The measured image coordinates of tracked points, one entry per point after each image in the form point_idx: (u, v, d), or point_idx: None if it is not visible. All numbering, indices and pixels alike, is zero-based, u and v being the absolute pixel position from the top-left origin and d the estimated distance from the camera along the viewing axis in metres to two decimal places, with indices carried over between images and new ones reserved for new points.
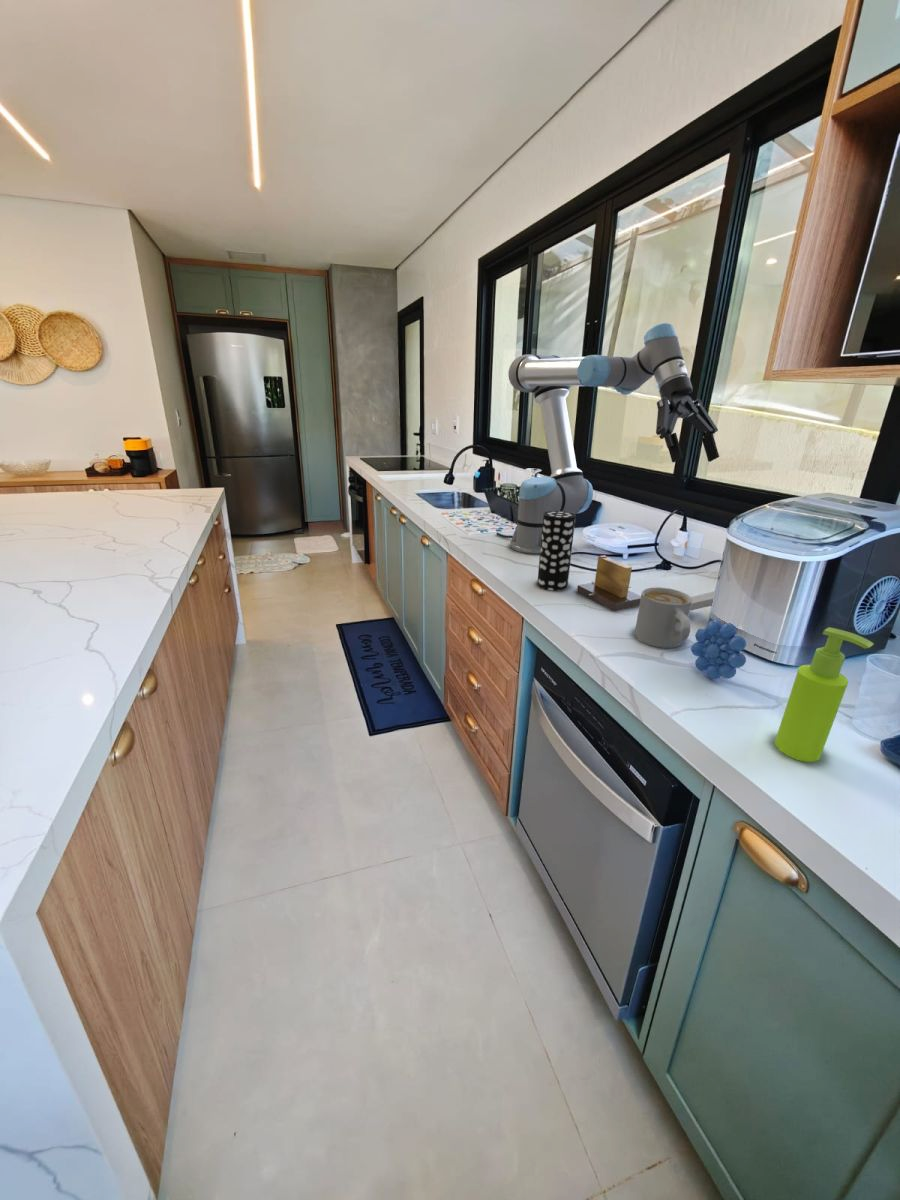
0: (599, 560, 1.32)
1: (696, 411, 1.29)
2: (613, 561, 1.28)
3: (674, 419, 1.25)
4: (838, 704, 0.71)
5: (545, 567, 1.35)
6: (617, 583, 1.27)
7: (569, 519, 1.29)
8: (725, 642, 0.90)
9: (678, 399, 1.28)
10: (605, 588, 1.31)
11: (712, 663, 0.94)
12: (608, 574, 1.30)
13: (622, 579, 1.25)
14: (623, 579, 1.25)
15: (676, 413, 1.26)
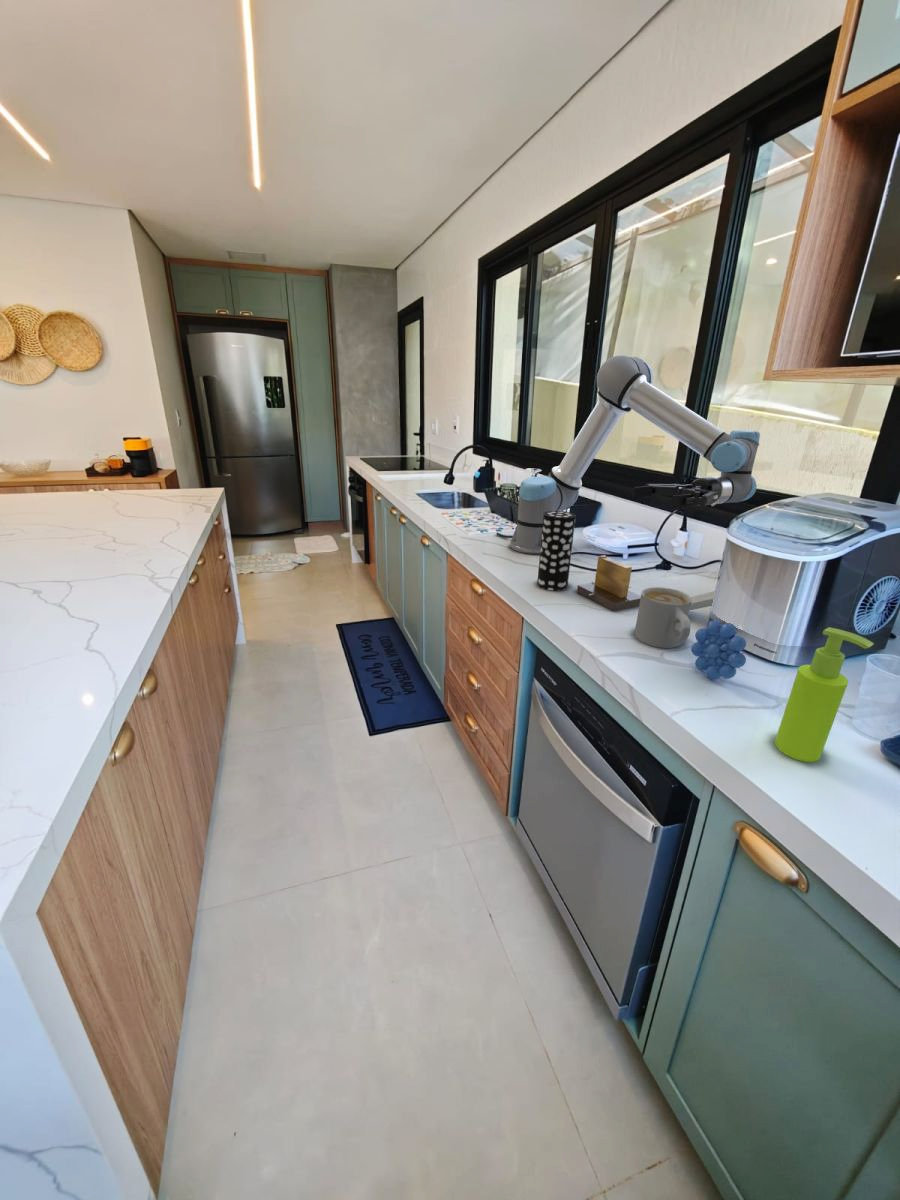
0: (599, 560, 1.32)
1: None
2: (613, 561, 1.28)
3: None
4: (838, 704, 0.71)
5: (545, 567, 1.35)
6: (617, 583, 1.27)
7: (569, 519, 1.29)
8: (725, 642, 0.90)
9: None
10: (605, 588, 1.31)
11: (712, 663, 0.94)
12: (608, 574, 1.30)
13: (622, 579, 1.25)
14: (623, 579, 1.25)
15: None
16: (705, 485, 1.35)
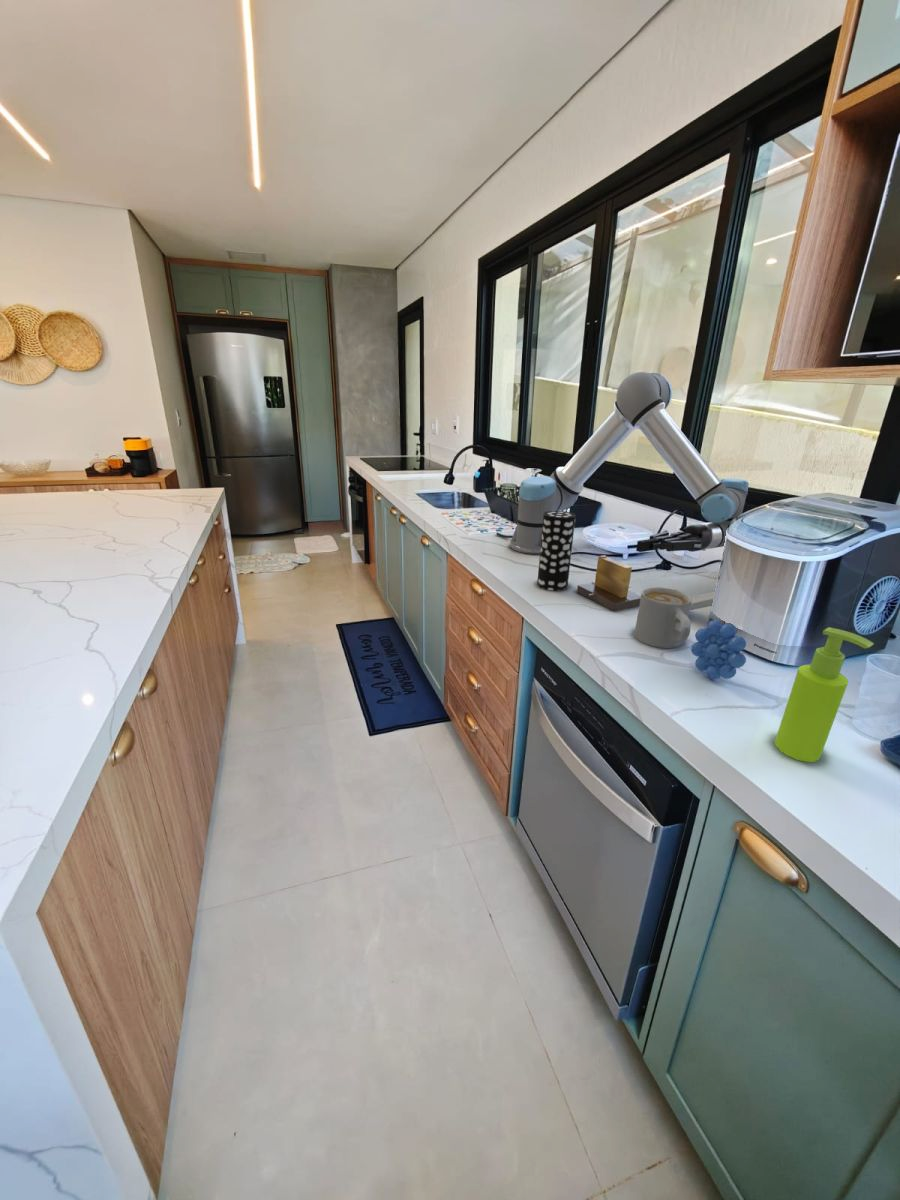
0: (599, 560, 1.32)
1: None
2: (613, 561, 1.28)
3: None
4: (838, 704, 0.71)
5: (545, 567, 1.35)
6: (617, 583, 1.27)
7: (569, 519, 1.29)
8: (725, 642, 0.90)
9: None
10: (605, 588, 1.31)
11: (712, 663, 0.94)
12: (608, 574, 1.30)
13: (622, 579, 1.25)
14: (623, 579, 1.25)
15: None
16: (696, 533, 1.40)
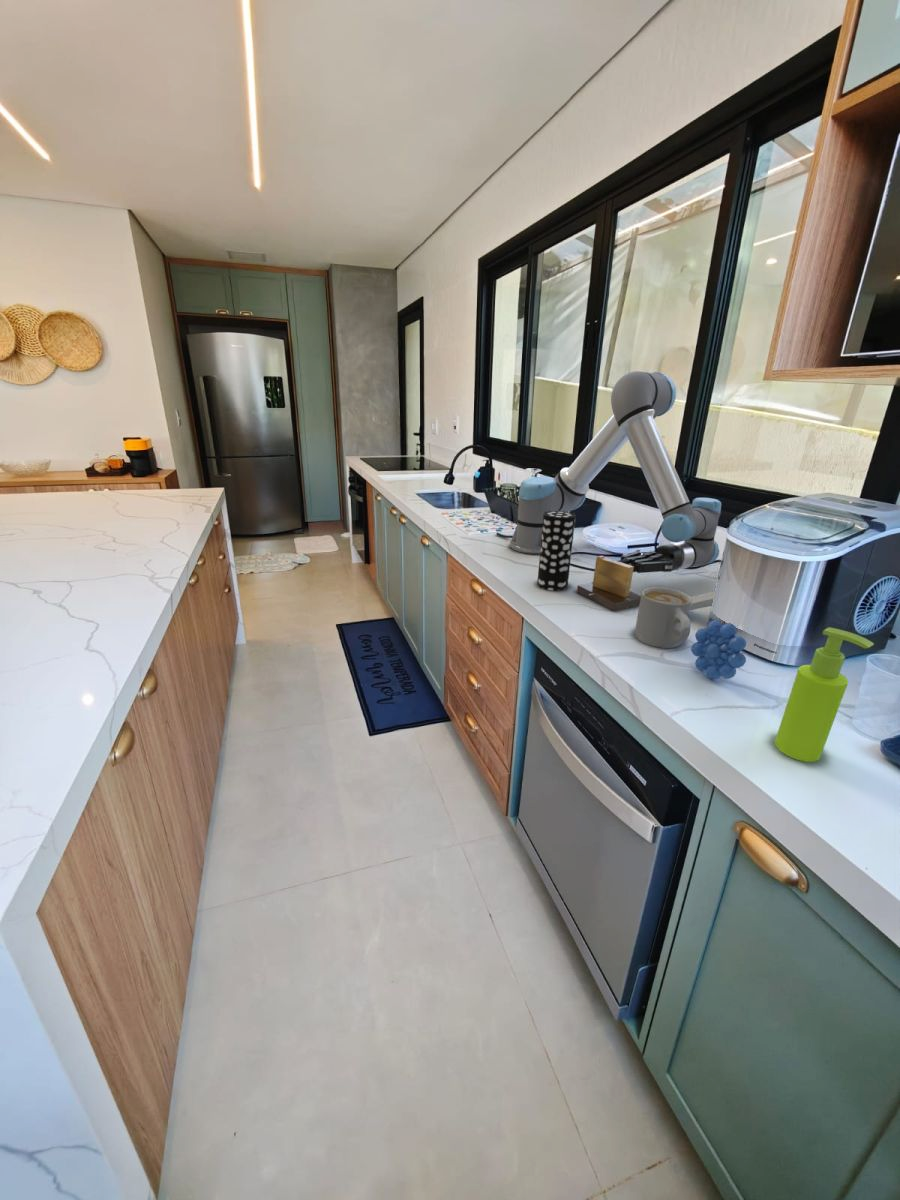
0: (597, 561, 1.31)
1: None
2: (613, 561, 1.28)
3: None
4: (838, 704, 0.71)
5: (545, 567, 1.35)
6: (619, 583, 1.27)
7: (569, 519, 1.29)
8: (725, 642, 0.90)
9: None
10: (605, 588, 1.31)
11: (712, 663, 0.94)
12: (608, 574, 1.29)
13: (624, 579, 1.26)
14: (625, 579, 1.25)
15: None
16: (668, 553, 1.38)
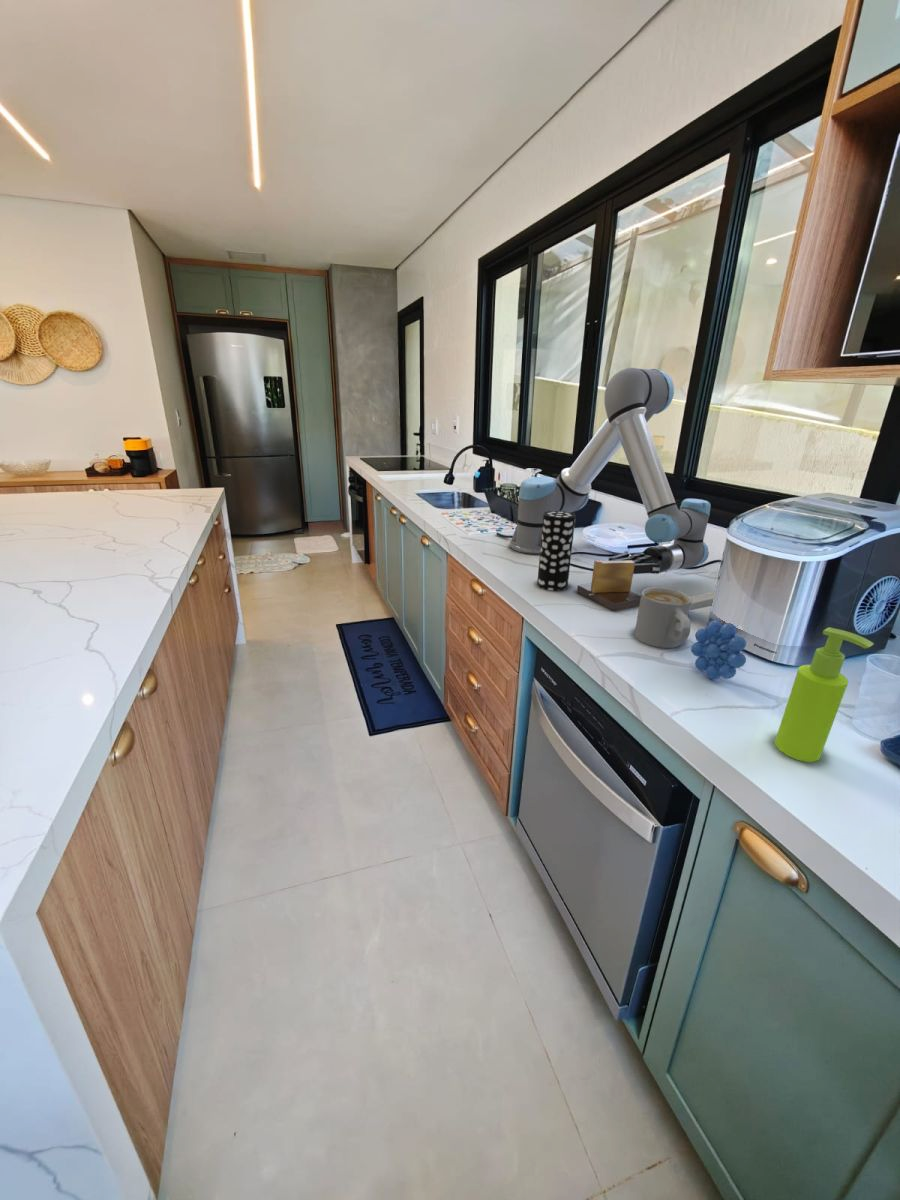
0: (599, 566, 1.27)
1: None
2: (613, 561, 1.28)
3: None
4: (838, 704, 0.71)
5: (545, 567, 1.35)
6: (624, 580, 1.29)
7: (569, 519, 1.29)
8: (725, 642, 0.90)
9: None
10: (609, 590, 1.30)
11: (712, 663, 0.94)
12: (612, 575, 1.29)
13: (630, 575, 1.29)
14: (631, 574, 1.29)
15: None
16: (656, 555, 1.36)
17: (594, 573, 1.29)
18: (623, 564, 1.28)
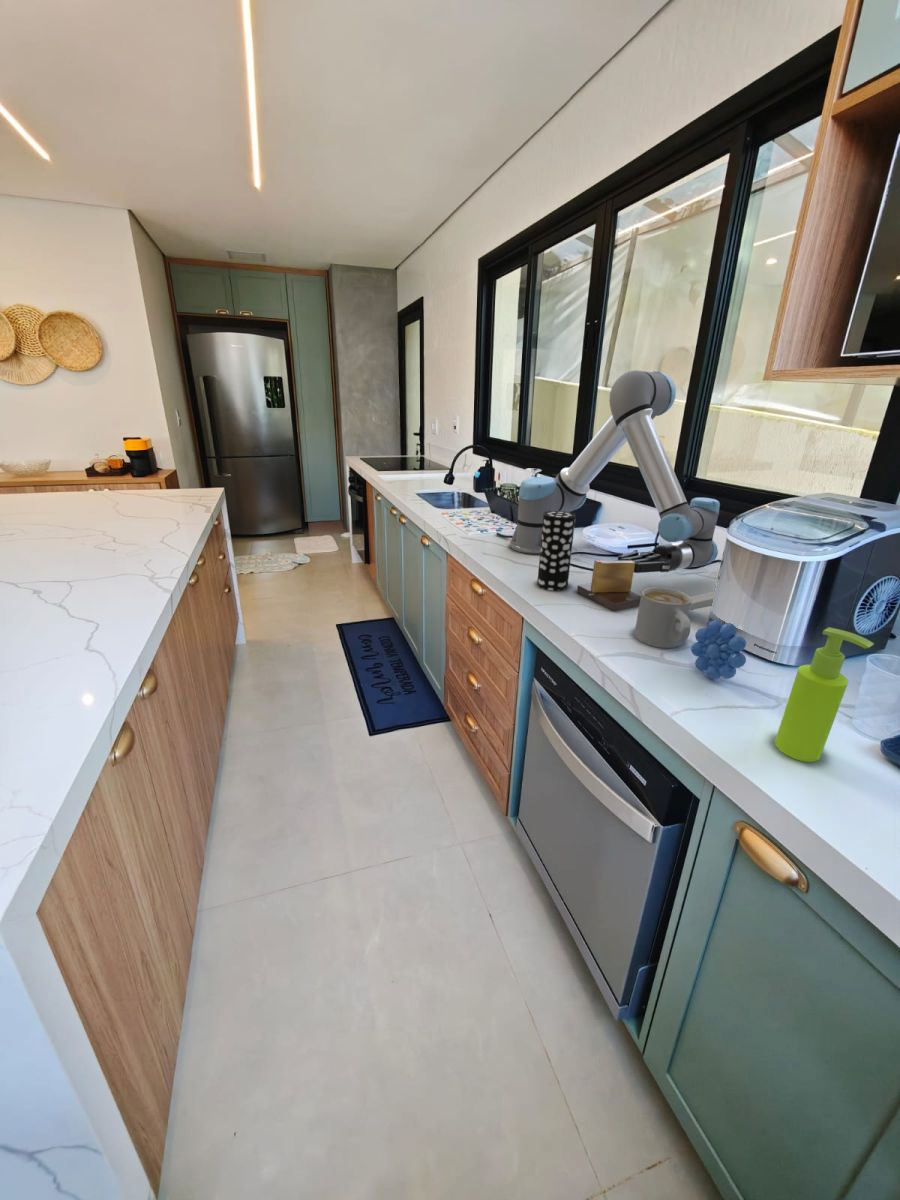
0: (599, 566, 1.27)
1: None
2: (613, 561, 1.28)
3: None
4: (838, 704, 0.71)
5: (545, 567, 1.35)
6: (624, 580, 1.29)
7: (569, 519, 1.29)
8: (725, 642, 0.90)
9: None
10: (609, 590, 1.30)
11: (712, 663, 0.94)
12: (612, 576, 1.29)
13: (630, 575, 1.29)
14: (631, 574, 1.29)
15: None
16: (666, 553, 1.37)
17: (594, 573, 1.29)
18: (623, 564, 1.28)
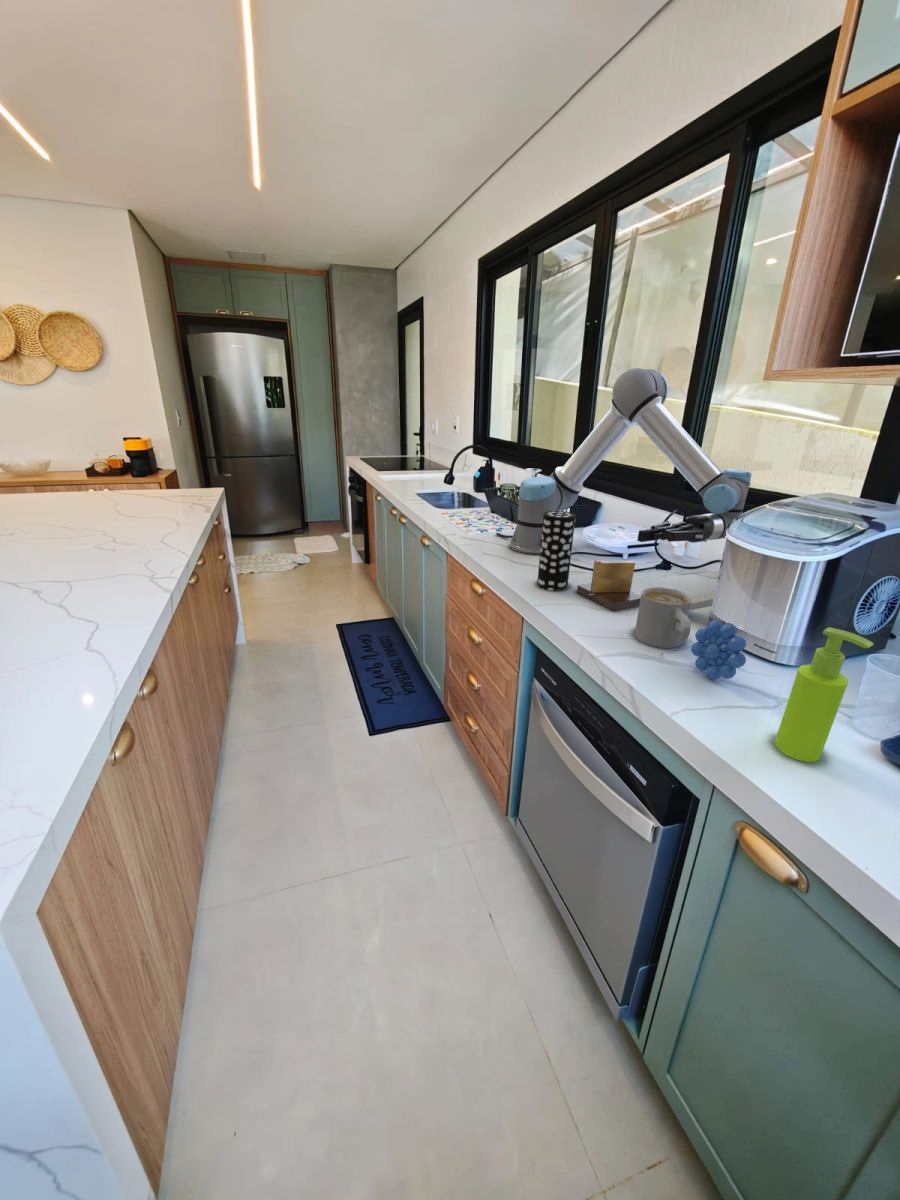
0: (599, 566, 1.27)
1: None
2: (613, 561, 1.28)
3: None
4: (838, 704, 0.71)
5: (545, 567, 1.35)
6: (624, 580, 1.29)
7: (569, 519, 1.29)
8: (725, 642, 0.90)
9: None
10: (609, 590, 1.30)
11: (712, 663, 0.94)
12: (612, 576, 1.29)
13: (630, 575, 1.29)
14: (631, 574, 1.29)
15: None
16: (698, 524, 1.39)
17: (594, 573, 1.29)
18: (623, 564, 1.28)
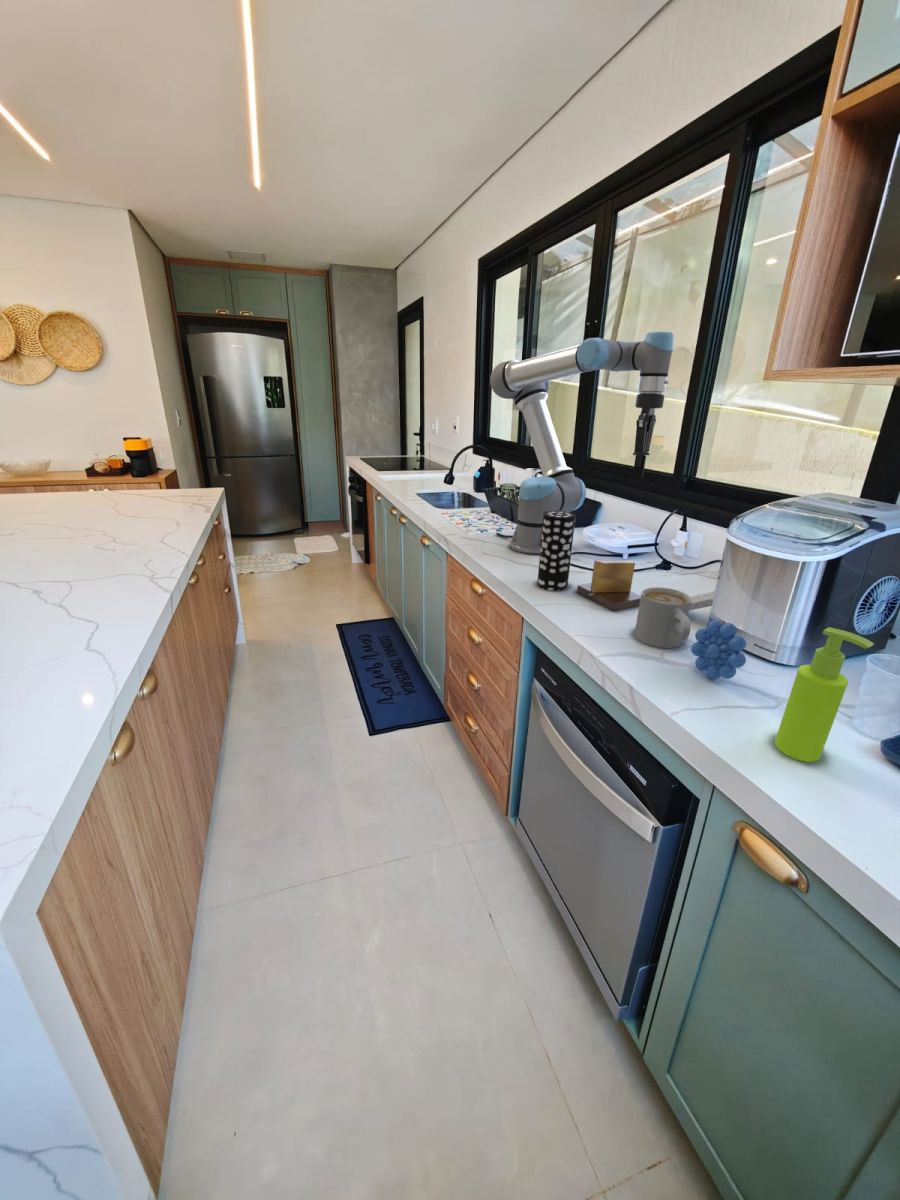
0: (599, 566, 1.27)
1: (652, 428, 1.47)
2: (613, 561, 1.28)
3: (646, 440, 1.46)
4: (838, 704, 0.71)
5: (545, 567, 1.35)
6: (624, 580, 1.29)
7: (569, 519, 1.29)
8: (725, 642, 0.90)
9: (650, 413, 1.43)
10: (609, 590, 1.30)
11: (712, 663, 0.94)
12: (612, 576, 1.29)
13: (630, 575, 1.29)
14: (631, 574, 1.29)
15: (646, 428, 1.43)
16: (640, 407, 1.44)
17: (594, 573, 1.29)
18: (623, 564, 1.28)
